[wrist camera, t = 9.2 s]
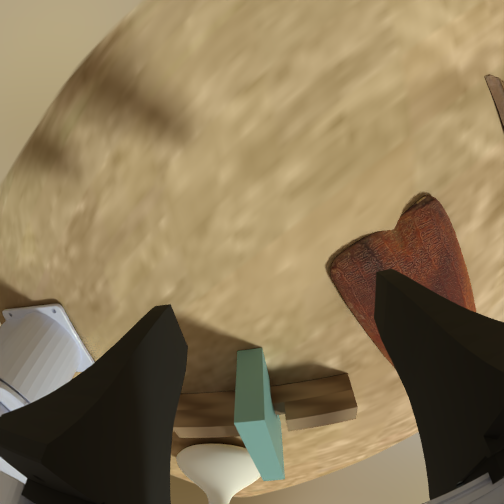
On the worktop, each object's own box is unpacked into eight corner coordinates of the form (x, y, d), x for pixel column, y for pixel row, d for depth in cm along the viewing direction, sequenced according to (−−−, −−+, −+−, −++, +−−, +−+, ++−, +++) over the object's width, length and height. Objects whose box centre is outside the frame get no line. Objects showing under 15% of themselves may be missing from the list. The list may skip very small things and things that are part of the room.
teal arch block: (280, 423, 28) (284, 479, 22) (262, 425, 28) (263, 481, 22) (262, 347, 23) (264, 419, 17) (237, 350, 23) (233, 422, 17)
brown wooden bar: (185, 405, 27) (179, 437, 23) (178, 394, 26) (171, 427, 23) (346, 386, 26) (355, 418, 22) (347, 373, 25) (357, 406, 21)
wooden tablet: (316, 263, 21) (321, 275, 19) (428, 182, 18) (440, 188, 17) (419, 407, 30) (423, 417, 28) (483, 363, 27) (489, 372, 25)
